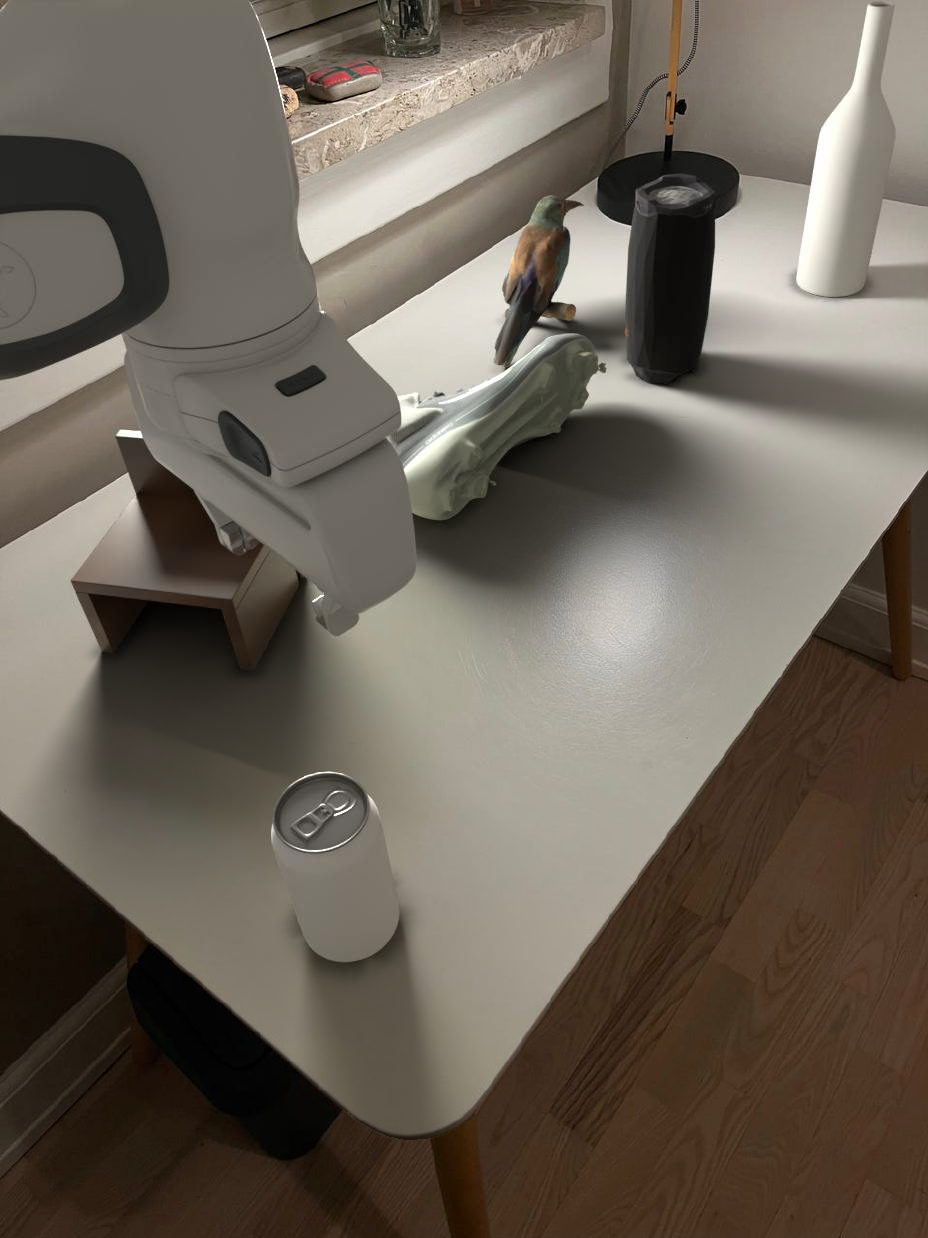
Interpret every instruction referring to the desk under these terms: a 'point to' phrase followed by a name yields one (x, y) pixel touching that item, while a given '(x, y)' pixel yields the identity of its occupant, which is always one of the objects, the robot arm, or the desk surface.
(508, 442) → the baseball cleat
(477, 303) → the desk surface
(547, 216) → the bird figurine
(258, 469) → the robot arm
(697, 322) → the portable speaker
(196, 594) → the wooden doll chair
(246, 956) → the desk surface
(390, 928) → the can
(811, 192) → the bottle
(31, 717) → the desk surface
